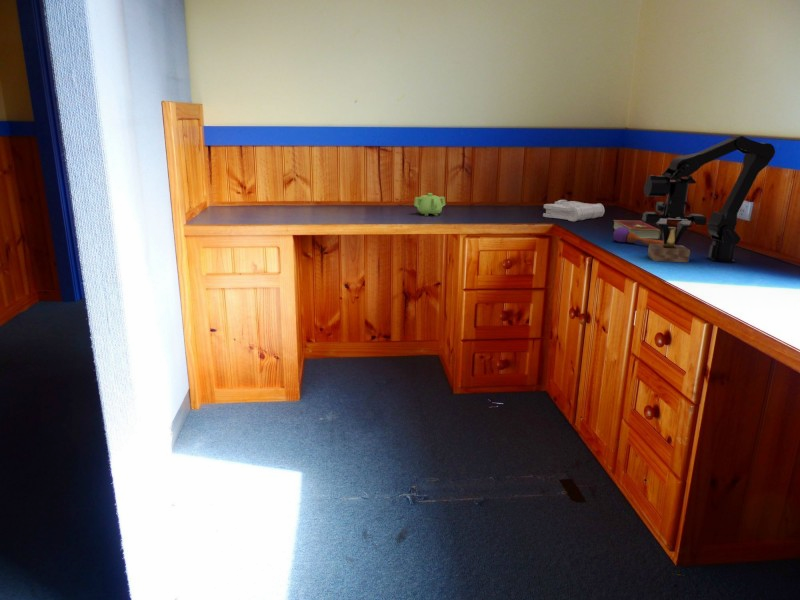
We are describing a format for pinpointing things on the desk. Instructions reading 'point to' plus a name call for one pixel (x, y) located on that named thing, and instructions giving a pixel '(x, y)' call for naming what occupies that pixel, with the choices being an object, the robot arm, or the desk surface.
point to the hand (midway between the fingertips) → (669, 244)
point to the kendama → (631, 237)
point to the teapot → (429, 204)
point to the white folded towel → (573, 210)
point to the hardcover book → (638, 228)
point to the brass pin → (671, 237)
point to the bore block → (668, 253)
